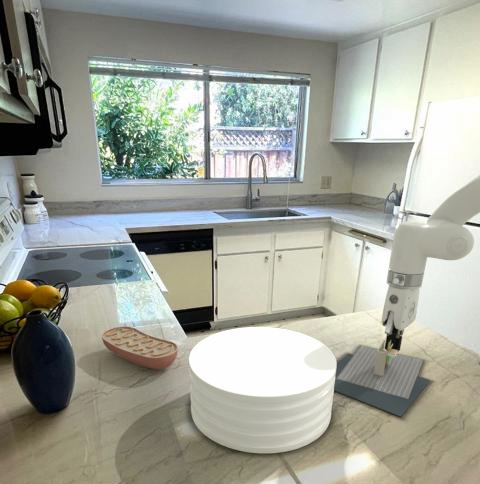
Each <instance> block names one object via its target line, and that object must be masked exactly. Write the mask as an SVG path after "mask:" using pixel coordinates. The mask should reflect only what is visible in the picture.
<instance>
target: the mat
mask: <svg viewBox="0 0 480 484" xmlns="http://www.w3.org/2000/svg"><path fill="white" fill-rule="evenodd" d="M353 356H354V354H351V353H347V354H346V355H344V356H343V357H342V358H341V359H340V360H338V361H336V362H337V367H336V374H335V384H334V392H336V393H339V394H341V395H344V396H346V397H348V398H351V399H354V400H357V401H359V402H362V403H364V404H366V405H369V406H371V407H374V408H376V409H379V410H382V411H384V412H386V413H388V414H392V415H394V416H397V417H399V418H402V417H403V416H404V415H405V413H406V412H407V411H408V410H409V408H410V407H411V405H412V404H413V403H414V402H415V400H416V399H417V398H418V397H419V395H420V394H421V393H422V392H423V391H424V389H425V388H426V387H427V386H428V384H429V383H430V381H431V380H430V379H428V378H425V377H422V376H419V375H417V377H416V380H415V382H414V385H413V387H412V390H411V392H410V395H409V398H408V399H407V398H403V397H400V396H396V395H393V394H389V393H386V392H382V391H378V390H375V389H371V388H368V387H364V386H361V385H357V384H354V383H350V382H347V381H343V380H340V379H336V378H337V377H338V376H339V374H340V373H341V372H342V370H343V369H344V368H345V366H346V365H347V364H348V362H349V361H350V360H351V358H352V357H353Z"/></svg>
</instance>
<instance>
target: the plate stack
mask: <svg viewBox="0 0 480 484" xmlns="http://www.w3.org/2000/svg"><path fill="white" fill-rule="evenodd" d="M337 362H338V361H337V358H336V356H335V354H334V353H333V351H332V350H331V349H330V348H329V347H328V346H327V345H325V344H324V343H323V342H321V341H320V340H318V339H316V338H315V337H312V336H310V335H307V334H304V333H302V332H298V331H294V330H290V329H284V328H279V327H270V326H248V327H247V326H246V327H238V328H231V329H226V330H222V331H219V332H216V333H213V334H211V335H209V336H206V337H205V338H203V339H202V340H200V341H198V343H196V344H195V345H194V347H193V348H192V349H191V350H190V353H189V355H188V369H189V371H188V373H189V374H188V375H189V394H190V413H191V418H192V420H193V423H194V424H195V426H196V427H197V429H198V430H199V431H200V432H201V433H202V434H203V435H204V436H206V437H207V438H208V439H209V440H211V441H213V442H215V443H217V444H218V445H221V446H223V447H226V448H229V449H231V450H234V451H240V452H243V453H250V454H278V453H279V454H280V453H285V452H286V453H287V452H290V451H291V452H292V451H295V450H297V449H301V448H303V447H305V446H307V445H310V444H311V443H313V442H315V441H316V440H318V439H319V438H320V437H321V436H322V435H324V433H325V432H326V430H327V429H328V428H329V425H330V422H331V418H332V409H333V402H334V394H335V393H334V392H335V391H334V384H335V374H336V367H337Z"/></svg>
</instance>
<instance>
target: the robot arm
mask: <svg viewBox="0 0 480 484" xmlns="http://www.w3.org/2000/svg"><path fill="white" fill-rule="evenodd" d="M478 214H480V174H479V175H478V176H476V177H475V178H473V179H472V180H470V181H468V183H466V184H465V185H464V186H462V187H460V188H459V189H457V190H456V191H455V192H454V193H452V194H451V195H450V196H449V197H447V198H446V199H445V200H444V201H443V202H442V203H441V204H440V205H438V207H437V208H436V209H435V210H434V211H433V213H432V214H431V215H429V217H428V218H427V219H426V220H425V222H419V221H401V222H399V223H398V224H397V225H395V227H394V233H393V239H392V245H391V252H390V257H389V264H388V270H387V275H386V276H387V277H386V284H387V285H388V288H387V291H386V296H385V299H384V304H383V308H382V314H381V325H382V326H383V327H385V329H384V334H386V338H385V344H384V351H387V349H388V342H390V341H391V345H392V344H393V345H392V347H391V346H390V347H391V349H395V350H398V352H400V351H401V347H402V341H403V335H404V332H405V329H406V328H407V327H409V326H410V325H411V324H413V323H414V322H415V320H416V318H417V311H418V305H419V298H420V288H422V286H423V280H424V276H425V270H426V266H427V261H428V258H431V259H438V260H443V261H457V260H461V259H463V258H465V257H467V256H468V255H469V254H470V253H471V252H472V250H473V249H474V245H475V238H474V235H473V233H472V232H471V231H470V230H469V229H468V228H467V227H465V226H464V225H465V224H466V223H467V222H468V221H469V220H471V219H472V218H474V217H475V216H477V215H478Z"/></svg>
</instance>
